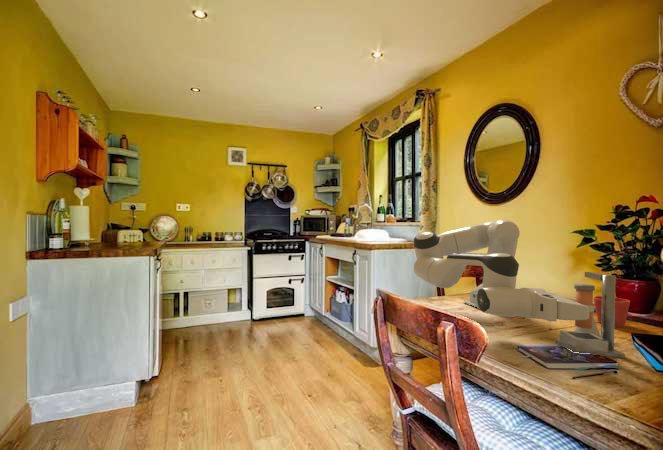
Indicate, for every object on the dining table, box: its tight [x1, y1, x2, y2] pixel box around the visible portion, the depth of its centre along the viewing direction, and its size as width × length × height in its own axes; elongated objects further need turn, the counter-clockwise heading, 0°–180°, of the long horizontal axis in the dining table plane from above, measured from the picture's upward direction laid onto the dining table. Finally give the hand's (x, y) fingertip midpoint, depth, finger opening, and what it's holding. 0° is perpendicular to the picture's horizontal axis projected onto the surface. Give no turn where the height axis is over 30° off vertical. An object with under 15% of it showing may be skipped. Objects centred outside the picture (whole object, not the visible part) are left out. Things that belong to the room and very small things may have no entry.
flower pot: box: [593, 295, 631, 328], centre depth 129 cm, size 11×11×10 cm
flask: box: [573, 312, 601, 338], centre depth 115 cm, size 7×7×10 cm
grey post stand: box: [555, 271, 626, 359], centre depth 102 cm, size 13×15×22 cm
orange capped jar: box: [573, 283, 596, 329], centre depth 100 cm, size 5×5×12 cm
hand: (587, 306), depth 100 cm, fingers closed on orange capped jar, 4 cm apart
